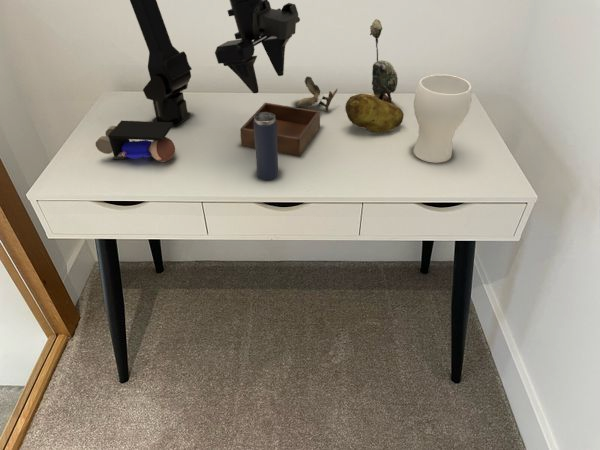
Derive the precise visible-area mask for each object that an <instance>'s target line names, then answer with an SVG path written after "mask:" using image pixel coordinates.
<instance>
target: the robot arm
mask: <svg viewBox="0 0 600 450" xmlns="http://www.w3.org/2000/svg"><path fill="white" fill-rule="evenodd" d="M129 2H130V4H131V8H132V10H133V13H134V15H135V18H136V20H137V23H138V26H139V29H140V31H141V34H142V36H143V39H144V41H145V44H146V47H147V50H148V60H147V61H148V62H147V70H148V74H149V79H150V80H149V81H148V82H147V83H146V85H145V86H144V88H143V89H142V91H143V94H144V96H145V98H146V99H147V100H151V101H152V104H153V108H154V113H155V117H154V118H153V119H152V120H151V122H173V126H172V127H178V126H180V125H181V124H182V123H183V122H184V121H185V120H187V119H188V118H189V117H190V116H191V112H189V111H188V106H187V101H186V99H185V98H184V92H183V91H185V90H187V89H188V86H189V82H190V80H191V79H192V73H191V71H192V66H191V65H190V63H189V60H188V57H187V54H186V52H185V51H179V50H178V49H177V48H176V47H174V45H173V43H172V40H171V38H170V35H169V32H168V30H167V27H166V24H165V21H164V18H163V15H162V13H161V10H160V7H159V3H158V1H157V0H129ZM229 3H230V7H231V8H230V9H227V15H228V17H233V18H234V20H235V21H234V22H235V24H236V29H237V32H234V33H233V35H234V40H228V41H227V40H226V41H225V42H224V43H222V44H220V45H218V46H216V49H215V50H214V54H215V55H214V56H215V59H216V61H217V64H219V65H220V64H223V66H224V67H228V68H229V69H230V70H231V71H232V72H233V73H234V74H235V75H236V76H237V77H238V78H239V79H240V80H241V81H242V82H243V83H244V85H245V86H246V87H247V88H248V89H249V90H250V91H251V93H253V94H258V93H259V84H258V80H257V79H258V78H257V75H256V71H255V62H256V60H257V58H258V55H254V54H255V46H258V45H259V44H262V46H263V49H264V51H265V53H266V55H267V57H268V59H269V61H270V63H271V65H272V67H273V69H274V71H275V73H276V75H277V76H278V77H282V76H284V74H285V73H284V71H285V53H286V52H285V51H286V46H287V43H288V42H289V40H290V39H291V38H292V37H293V35H295V34H296V28H297V24H298V23H299V22H300V21H301V18H300V17H299V12H298V8H297V5H296V3H293V2H292V3H291V2H288V3H285V4H284V5H283V6H282V7H281V8H276V9H275V8H272V7H271V6H272V5H271V4H270V0H229Z"/></svg>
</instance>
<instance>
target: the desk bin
mask: <svg viewBox="0 0 600 450" xmlns="http://www.w3.org/2000/svg"><path fill="white" fill-rule="evenodd" d="M261 112H269V113H273V114H274V115H275V119H276V120H277V145H278V154H283V155H284V154H285V155H289V156H293V157H294V156H295V157H301V156H302V154H303V153H304V152H305V150H306V149H307V147H308V145H309V144H310V143H311V141H312V140H313V139H314V137H315V135H316V134H317V133H318V132H319V130H320V128H321V110H320V111H319V110H315V109H308V108H301V107H296V106H288V105H282V104H277V103H270V102H264V103H263V104H262V105H261V106H260V107H259V108H258V109H257V110H256V111H255V113H253V115H252V116H251V117H250V118H249V119H248V120H247V121H246V122H245V123H244V124H243V125H242V126H241V127H240V129H239V130H240V143H241V146H242V147H246V148H253V149H255V138H254V123H253V121H254V116H255V115H256V114H258V113H261Z"/></svg>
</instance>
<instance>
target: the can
mask: <svg viewBox="0 0 600 450" xmlns="http://www.w3.org/2000/svg"><path fill="white" fill-rule="evenodd" d="M253 123H254V138H255V148H254V150H255V151H254V152H255V166H256V167H255V168H256V177H257V178H258V179H259V180H261V181H268V182H269V181H273V180H275V179H277V178H278V177H279V174H280V173H279V155H278V154H279V153H278V145H277V120H276V119H275V115H274V114H273V113H269V112H261V113H258V114H256V115H255V116H254V121H253Z"/></svg>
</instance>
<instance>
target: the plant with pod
mask: <svg viewBox="0 0 600 450" xmlns="http://www.w3.org/2000/svg"><path fill="white" fill-rule="evenodd" d="M369 29H370V34H369V36H372V37H373V38H375V47H376V61H375V62H374V63H373V64H372V73H371V75H372V76H371V77H372V80H371V86H372V88H371V89H372V91H373V93H371V95H372V96H374V97H376V98H378V99H380V100H383V101H385V102H388V103H391V104H393V105H396V106H397V107H398V105H397V104H396V103H395V102H394V100H393V99H392V95H391V94H392V93H395V92H396V89H397V88H398V87H397V86H398V73H397V72H396V70H395V67H394V66H393V64H392V63H390V62H389V61H387V60H379V49H378V45H379V44H378V43H379V38H380V36H381V34H382V31H383V26H382V23H381V21H380V20H379V19H377V18H376V19H374V20H373V22H372V24H371V25H370V26H369Z"/></svg>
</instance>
